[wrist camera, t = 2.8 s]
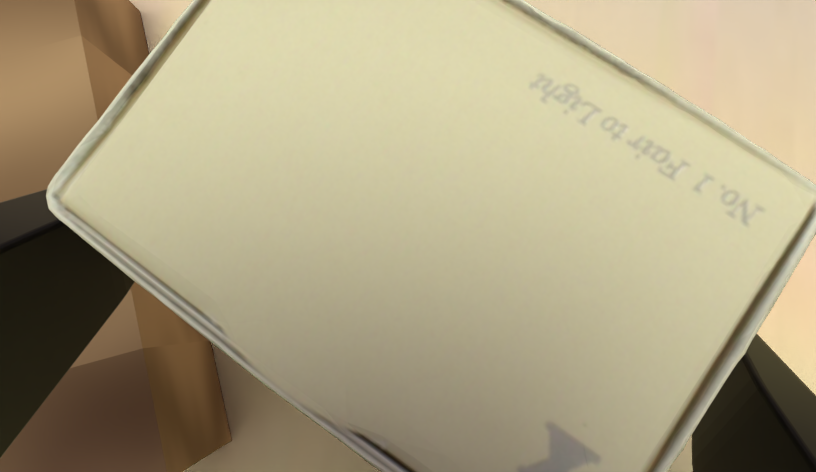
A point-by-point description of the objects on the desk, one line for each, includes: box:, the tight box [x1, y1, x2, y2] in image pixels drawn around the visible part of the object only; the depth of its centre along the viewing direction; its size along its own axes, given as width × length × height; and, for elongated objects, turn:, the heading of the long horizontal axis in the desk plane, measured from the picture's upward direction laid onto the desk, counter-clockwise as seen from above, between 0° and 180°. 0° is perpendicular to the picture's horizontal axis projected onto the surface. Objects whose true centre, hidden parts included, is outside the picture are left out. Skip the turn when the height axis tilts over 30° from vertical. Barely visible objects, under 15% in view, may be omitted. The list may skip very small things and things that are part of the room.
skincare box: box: [46, 0, 816, 472], centre depth 11 cm, size 6×4×12 cm
